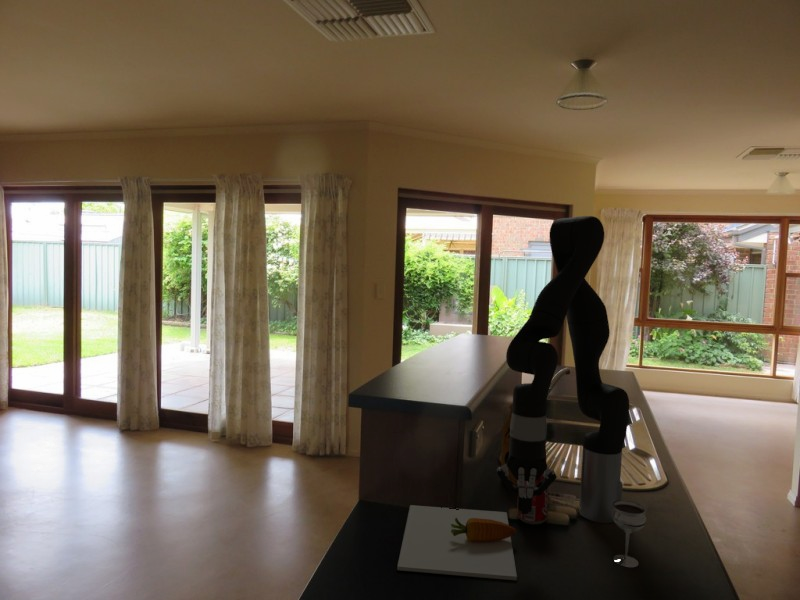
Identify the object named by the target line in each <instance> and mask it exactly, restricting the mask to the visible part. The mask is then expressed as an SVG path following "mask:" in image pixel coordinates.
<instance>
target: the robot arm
mask: <svg viewBox="0 0 800 600" xmlns="http://www.w3.org/2000/svg"><path fill="white" fill-rule="evenodd" d="M604 240H605V228H604V226H603V224H602V221H601V220H600V219H599V218H598V217H596V216H592V215H585V216H573V217H572V216H571V217H562V218H558V219H555V220H554V221H553V222H552V224H550V228H549V243H550V250H551V254H552V258H553V262H554V265H555V268H556V272H557V274H556V275H555V276H554V277H553V278H551V280H549V281H548V283H547V284H546V285H545V286H544V287H543V288H542V290H541V291H540V292H539V294H538V295H537V297H536V300H535V302H534V305H533V307H532V310H531V312H530V315H529V318H528V319H527V320H526V321H525V323H524V324H523V326H522V327H521V328H520V330H518V331H517V333H516V334H515V336H513V338H512V340H510V343H509V344H508V347H507V349H506V353H505V354H506V355H505V358H506V359H505V360H506V364H507V366H508V367H509V368H510V369H511V371H514V372H516V373H517V372H518V373H523V374H528V375H532V376H533V379H532V381H531V382H529V383H526V382H525V383H519V384H516V385H515V387H514V388H513V390H512V391H513V393H512V403H513V407H512V417H511V423H510V444H509V457H508V459H507V460H506V464H505V465H503V466H502V467H501V465H500V466H497V467H496V473H497V476H498V477H499V478H500V480H501V481H502V483H503V484H504V486H505V487H506V488H507V490H508V491H509V493H510V494H512V495H516V496H517V504H518V510H519V511H521V514H528V512H531V510H532V498H533V497H534V496H536V495H537V496H540V495H541V494H542V493H543V492H544V491H545V490H546V489H547V488H548V489H549V487H550V486H551V485H552V484H553V483H554V482H555V480H556V479H557V474H556V472H555V470H553V469H550V468H549V467H548V462H547V463H546V461H545V450H546V451H547V446H546V445H547V435H548V430H547V429H548V426H547V425H548V424H547V422H548V421H547V405H548V403H547V402H548V394H549V390H550V387H551V385H552V381H553V379H554V375H555V372H556V370H557V367H558V363H559V356H558V352H557V349H556V347H555V346H554V345H553V344H552V343H548V342H546V341H545V342H544V341H542V340H545V339H551V338H555V337H557V336H558V335H559V334H560V332H561V330H562V327H563V324H564V321H565V318H566V322H567V326H568V327H567V328H568V334H569V337H570V342H571V347H572V355H573V361H574V362H573V363H574V369H575V381H576V382H575V383H576V396H577V398H576V399H577V404H578V408H579V410H580V412H581V414H583V415H584V416H586V417H588V418H591V419H593V420H594V421H599V422H600V423H599V429H598V430H595V431H590V432H587V433H585V434H584V435H583V437H582V456H581V471H580V474H581V475H580V486H579V487H580V489H579V491H580V492H579V502H578V504H579V506H580V507H581V510H582V512H581V511H580V509H578V512H579V514H580V516H582V517H583V518H584V519H587V520H588V521H591V522H595V523H600V524H610V523H614V521H613V518H612V511H613V509H614V507H613V502H615V501H618V500H623V499H622V498H623V482H622V481H621V474H622V458H623V457H622V456H623V446H624V442H625V440H626V438H627V437H626V436H627V430H628V420H629V413H630V400H629V395H628V392H627V391H626V390H624V388H622V387H619V386H615V385H612V384H608V383H605V382H602V379H601V374H600V373H601V372H600V359H601V356H602V354H603V353H604V350H605V348H606V346H607V344H608V341H609V339H610V324H609V318H608V316H609V315H608V312H607V307H606V305H605V303H604V302H603V300H602V298H601V297H600V296H599V294H598V293H597V292H596V291H595V289H594V287H592V286H591V285H590V284H589V282H588V281H587V279H586V277H587V275H588V273H589V272H590V270H591V268H592V266H593V264H594V263H595V261H596V259H597V258H598V256H599V254H600V252H601V251H602V247H603V245H604V243H605V241H604ZM508 469H509V470H510V471H511V473H512V474H513V476H514V477H515V479H517V484H518V487H517V486H515V485H514V484H513V482H512V481H511V480H510V478H509V477H508V474H509V473H508ZM544 471H545V472H544ZM543 473H544V474H543ZM542 474H543V475H544V477H543V478H542V479H541V481H540V482H539V483H538V484H537V485H536V486H535V487H534V485H535V481H536V480H537V479H538V478H539V477H540V476H541V475H542ZM524 481H527V484H526V494H525V492H524V487H525V484H524ZM579 506H578V507H579Z"/></svg>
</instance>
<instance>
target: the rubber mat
mask: <svg viewBox="0 0 800 600" xmlns="http://www.w3.org/2000/svg"><path fill="white" fill-rule="evenodd" d="M449 508H450V507H442V508H441V506H429V505H427V506H425V505H414V504H413V505H412V504H410V506H409V508H408V509H409V510H408V514H407V518H406V524H405V528H404V532H403V539H402V543H401V548H400V551H399V552H400V553H399V558H398V561H397V566H396V567H397V571H404V572H415V573H425V574H426V573H427V574H437V575H449V576H460V577H472V578H473V577H474V578H484V579H497V580H507V581H517V579H518V575H517V570H516V562H515V556H514V550H513V545H512V538H511V537H512V536H510V537H508V538H505V539H503V540H498V541H491V542H470V541H469V540H468V539H467V536H466V533H463V534H458V535H456V536H454V535H453V534H452V533H451V530H452V529H456V530H460V529H457V528H453V527H451V524H454V525H457V526H459V525H458V524H457V523H456V522H455V518H457V519H458V521H459V522H460V523H461V524H463V525H464V526H466V523H467V521H468V520H469V519H470V518H479V519H490V520H494V521H499V522H502V523H505V524H507V525H509V526H510V524H509V520H508V519H509V518H508V512H507V511H506V512H505V511H495V510H480V509H469V508H468V509H467V508H458V509H459V510H456V509H457V508H456V509H449Z"/></svg>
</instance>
